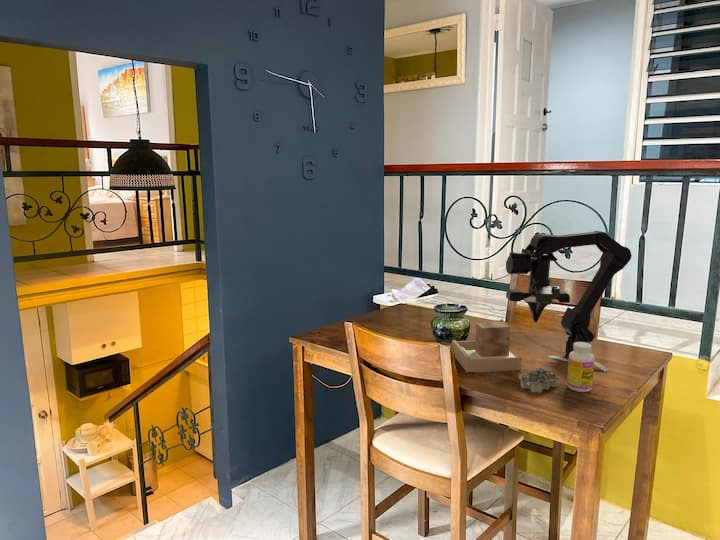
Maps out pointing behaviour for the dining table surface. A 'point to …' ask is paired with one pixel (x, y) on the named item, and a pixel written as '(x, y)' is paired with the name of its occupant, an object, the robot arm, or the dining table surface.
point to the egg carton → (543, 380)
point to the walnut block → (492, 339)
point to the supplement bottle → (581, 368)
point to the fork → (568, 361)
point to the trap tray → (483, 359)
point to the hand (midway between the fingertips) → (535, 321)
